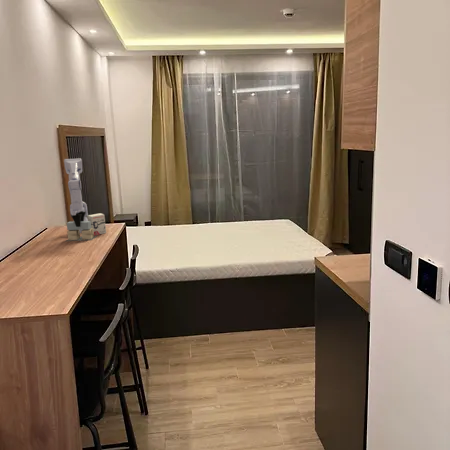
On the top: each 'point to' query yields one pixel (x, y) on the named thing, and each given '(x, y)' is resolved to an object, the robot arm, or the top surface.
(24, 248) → the top surface
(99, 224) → the ink box
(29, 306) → the top surface
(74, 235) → the cube left
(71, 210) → the robot arm
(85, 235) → the cube right
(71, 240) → the mat
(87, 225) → the lintel
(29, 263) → the top surface
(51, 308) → the top surface
